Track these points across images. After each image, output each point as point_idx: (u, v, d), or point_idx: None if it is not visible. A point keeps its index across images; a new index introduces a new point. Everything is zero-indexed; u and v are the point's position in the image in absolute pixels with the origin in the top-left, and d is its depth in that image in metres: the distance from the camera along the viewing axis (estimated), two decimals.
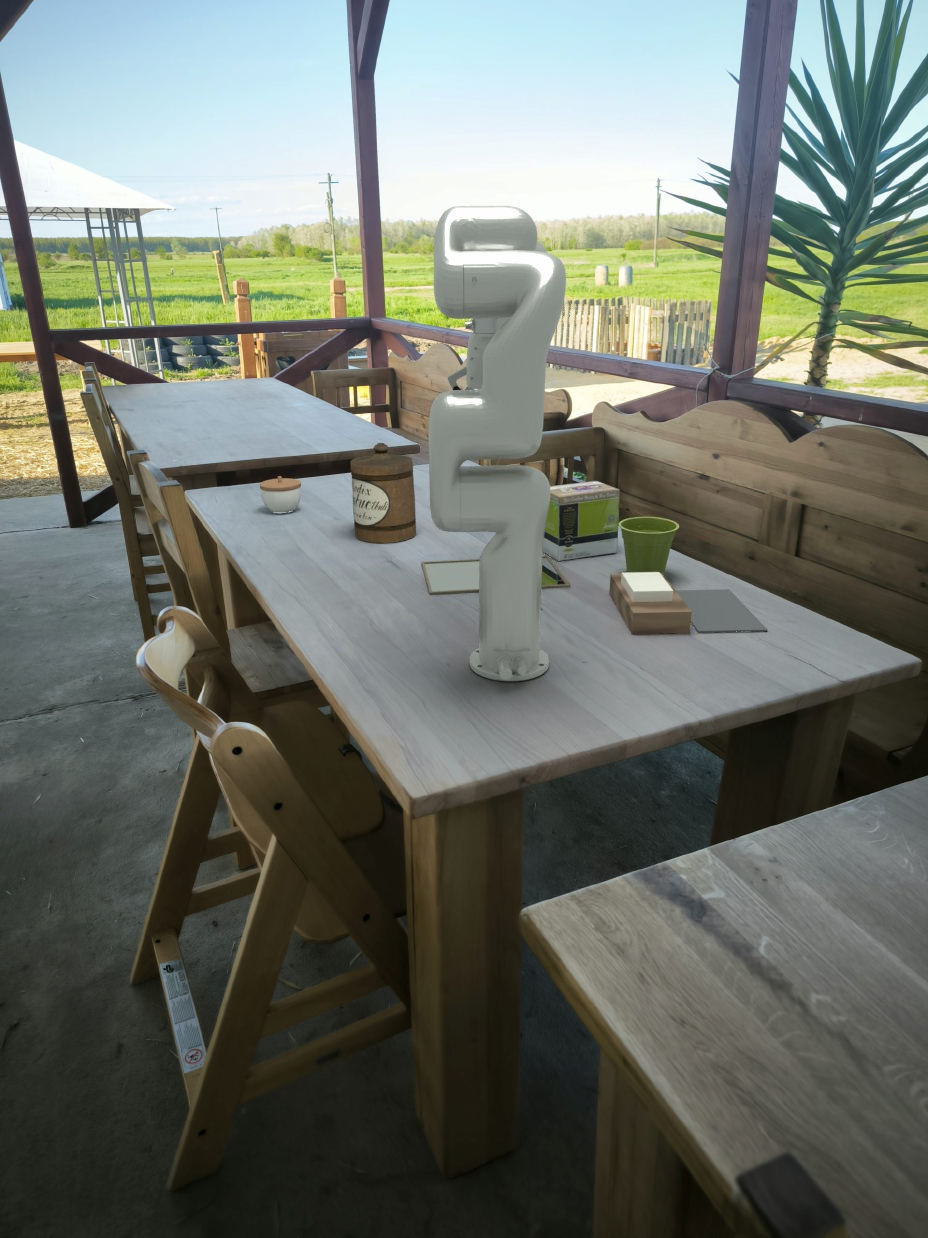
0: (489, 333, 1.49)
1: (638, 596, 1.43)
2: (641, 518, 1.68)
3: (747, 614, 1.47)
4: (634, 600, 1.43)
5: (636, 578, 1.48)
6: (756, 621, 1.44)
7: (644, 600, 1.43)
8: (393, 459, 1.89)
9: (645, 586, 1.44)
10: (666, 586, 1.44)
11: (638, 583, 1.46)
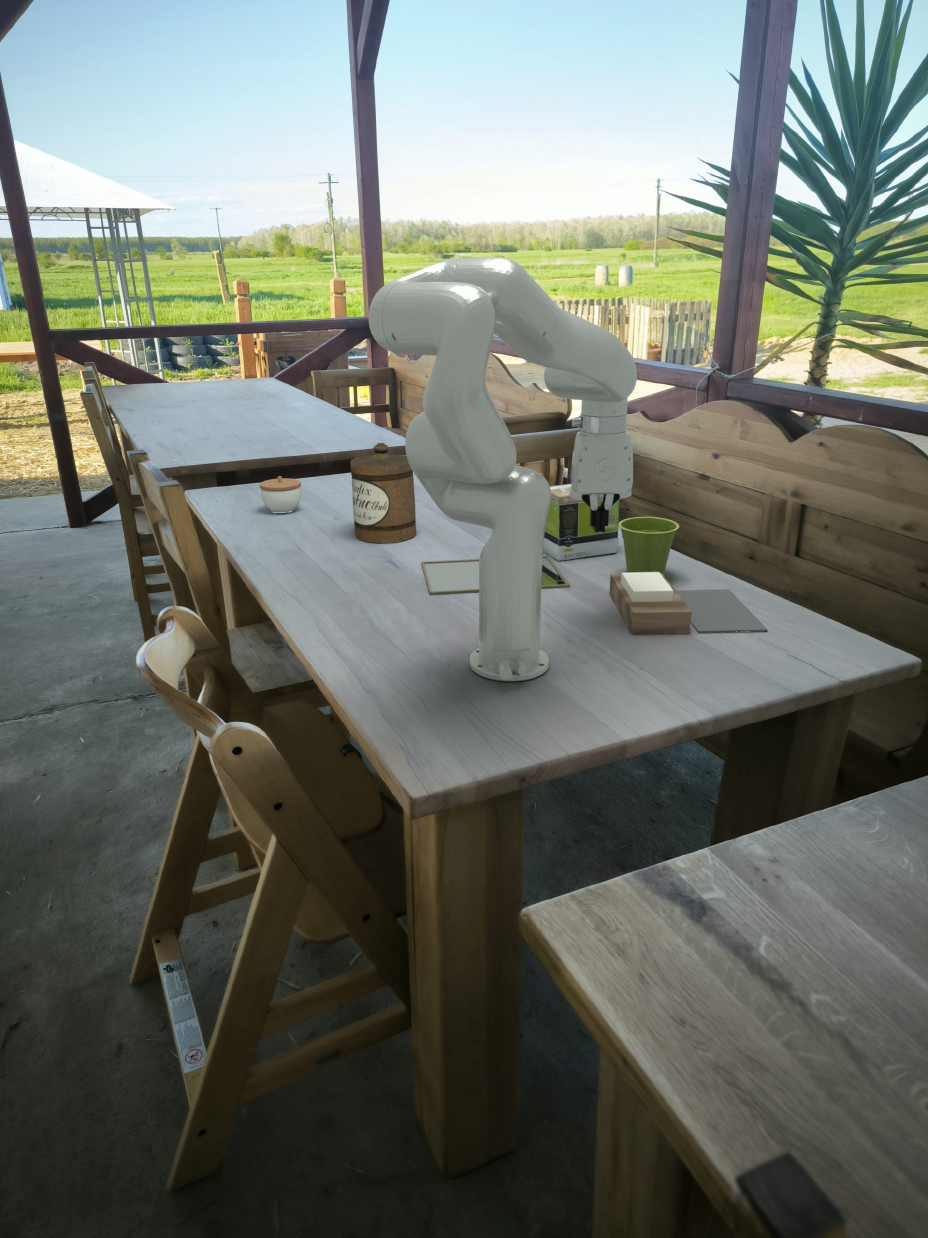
0: (602, 433, 1.33)
1: (638, 596, 1.43)
2: (641, 518, 1.68)
3: (747, 614, 1.47)
4: (634, 600, 1.43)
5: (636, 578, 1.48)
6: (756, 621, 1.44)
7: (644, 600, 1.43)
8: (393, 459, 1.89)
9: (645, 586, 1.44)
10: (666, 586, 1.44)
11: (638, 583, 1.46)
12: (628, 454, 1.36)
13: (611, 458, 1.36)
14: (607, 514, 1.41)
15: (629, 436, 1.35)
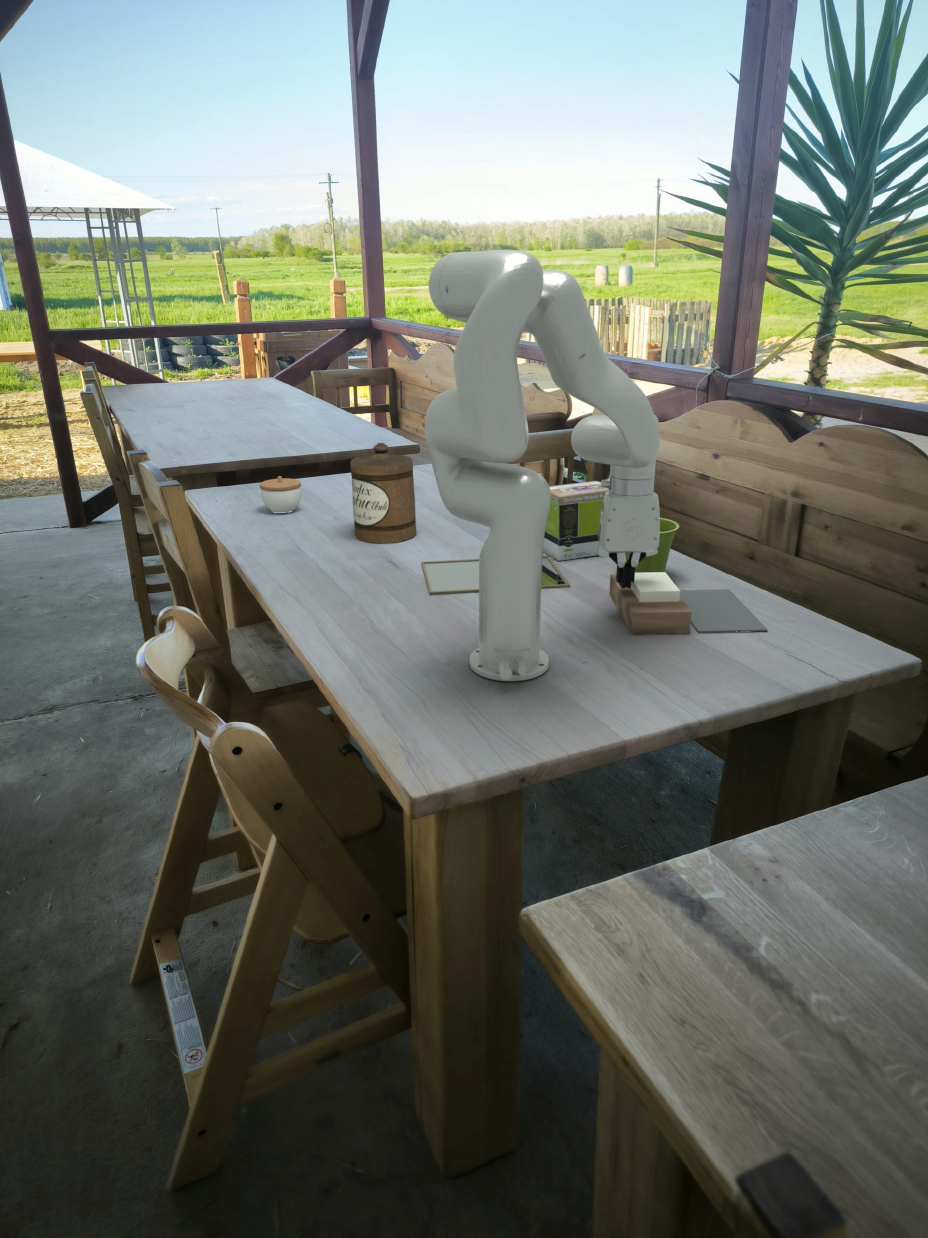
0: (630, 495, 1.37)
1: (645, 596, 1.42)
2: None
3: (747, 614, 1.47)
4: (641, 600, 1.43)
5: (642, 578, 1.48)
6: (756, 621, 1.44)
7: (651, 600, 1.43)
8: (393, 459, 1.89)
9: (651, 586, 1.44)
10: (673, 586, 1.44)
11: (644, 583, 1.46)
12: (656, 515, 1.40)
13: (639, 518, 1.40)
14: (633, 571, 1.45)
15: (656, 497, 1.39)
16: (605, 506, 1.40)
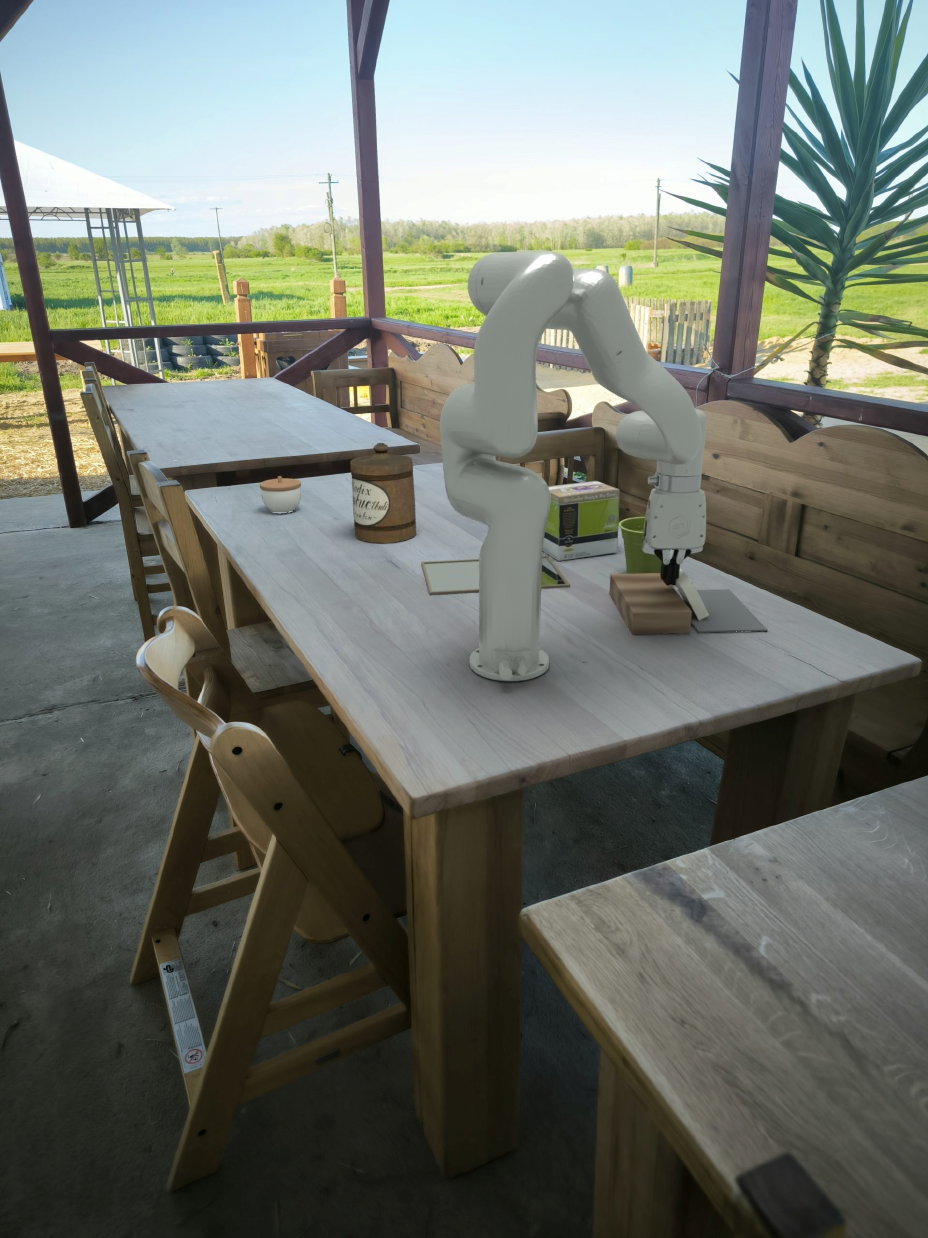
0: (678, 492, 1.37)
1: (690, 590, 1.42)
2: (641, 518, 1.68)
3: (747, 614, 1.47)
4: (684, 589, 1.42)
5: None
6: (756, 621, 1.44)
7: (688, 597, 1.43)
8: (393, 459, 1.89)
9: None
10: None
11: None
12: (702, 512, 1.40)
13: (686, 515, 1.40)
14: (678, 568, 1.45)
15: (703, 494, 1.39)
16: (652, 503, 1.40)
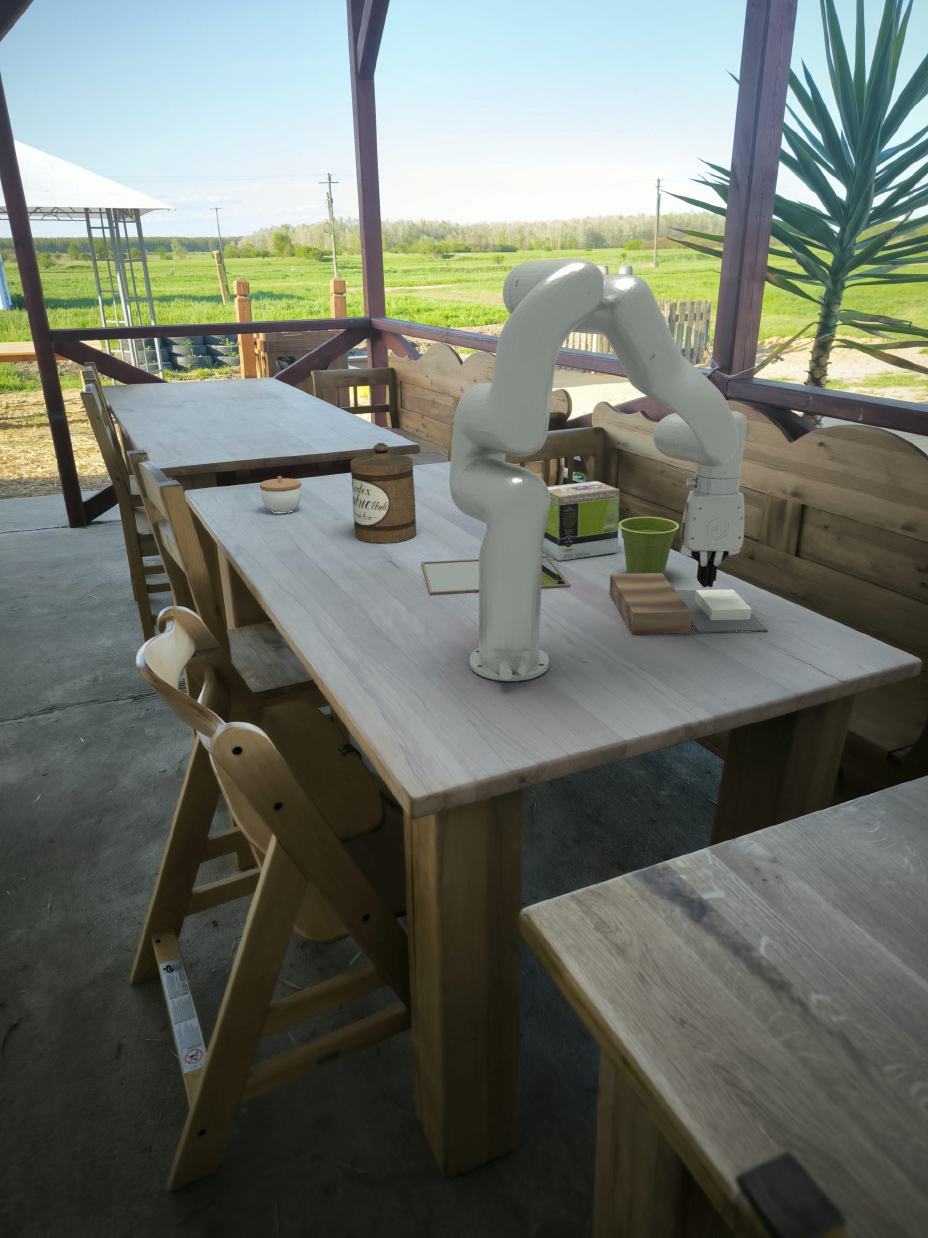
0: (717, 494, 1.37)
1: (745, 614, 1.44)
2: (641, 518, 1.68)
3: None
4: (749, 610, 1.44)
5: None
6: (756, 621, 1.44)
7: (739, 610, 1.44)
8: (393, 459, 1.89)
9: None
10: None
11: None
12: (741, 514, 1.40)
13: (724, 517, 1.40)
14: (715, 570, 1.46)
15: (742, 496, 1.39)
16: (690, 505, 1.40)
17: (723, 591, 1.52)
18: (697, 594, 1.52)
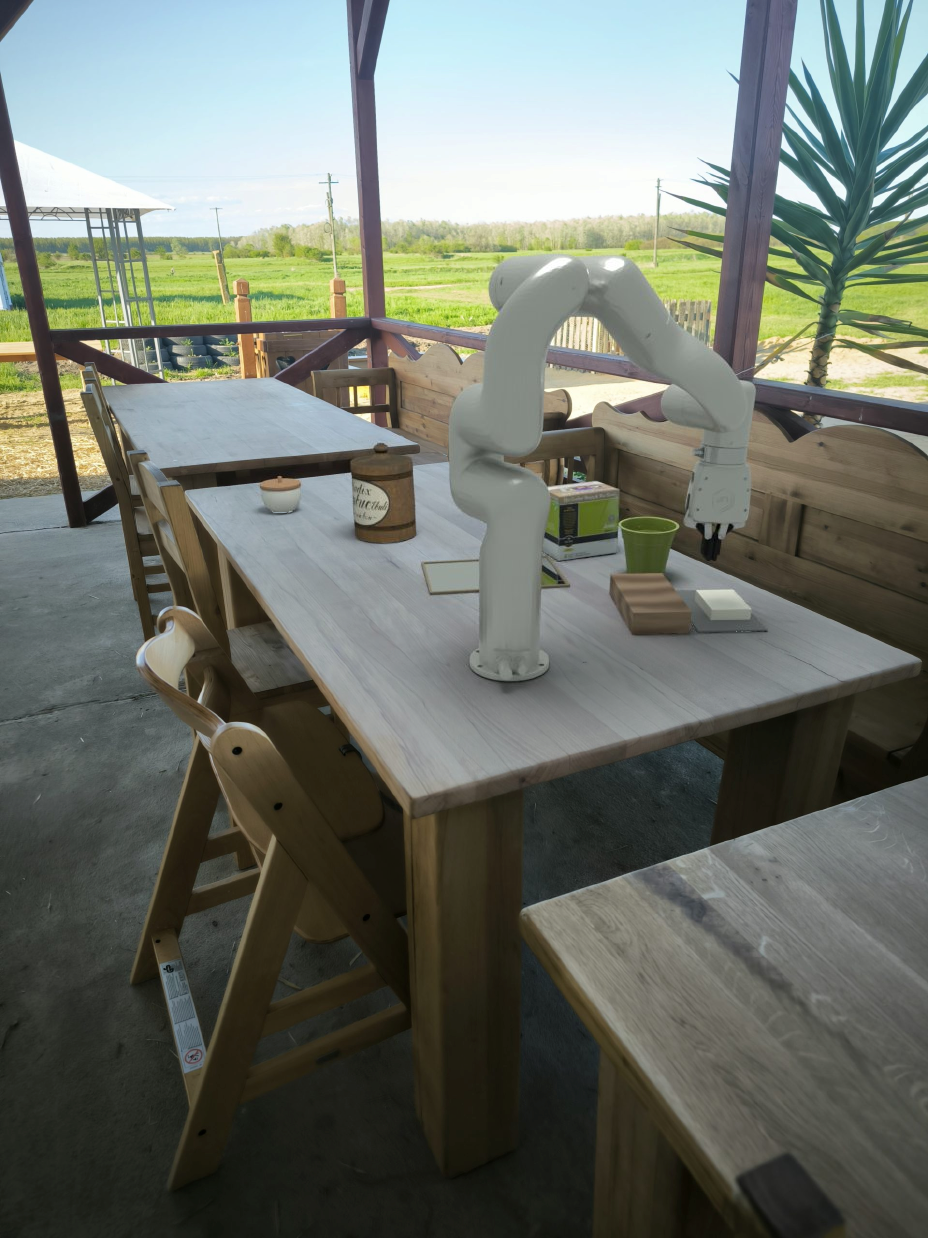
0: (724, 464, 1.35)
1: (745, 614, 1.44)
2: (641, 518, 1.68)
3: None
4: (749, 610, 1.44)
5: None
6: (756, 621, 1.44)
7: (739, 610, 1.44)
8: (393, 459, 1.89)
9: None
10: None
11: None
12: (747, 486, 1.38)
13: (730, 488, 1.38)
14: (719, 543, 1.43)
15: (749, 468, 1.37)
16: (696, 475, 1.38)
17: (723, 591, 1.52)
18: (697, 594, 1.52)
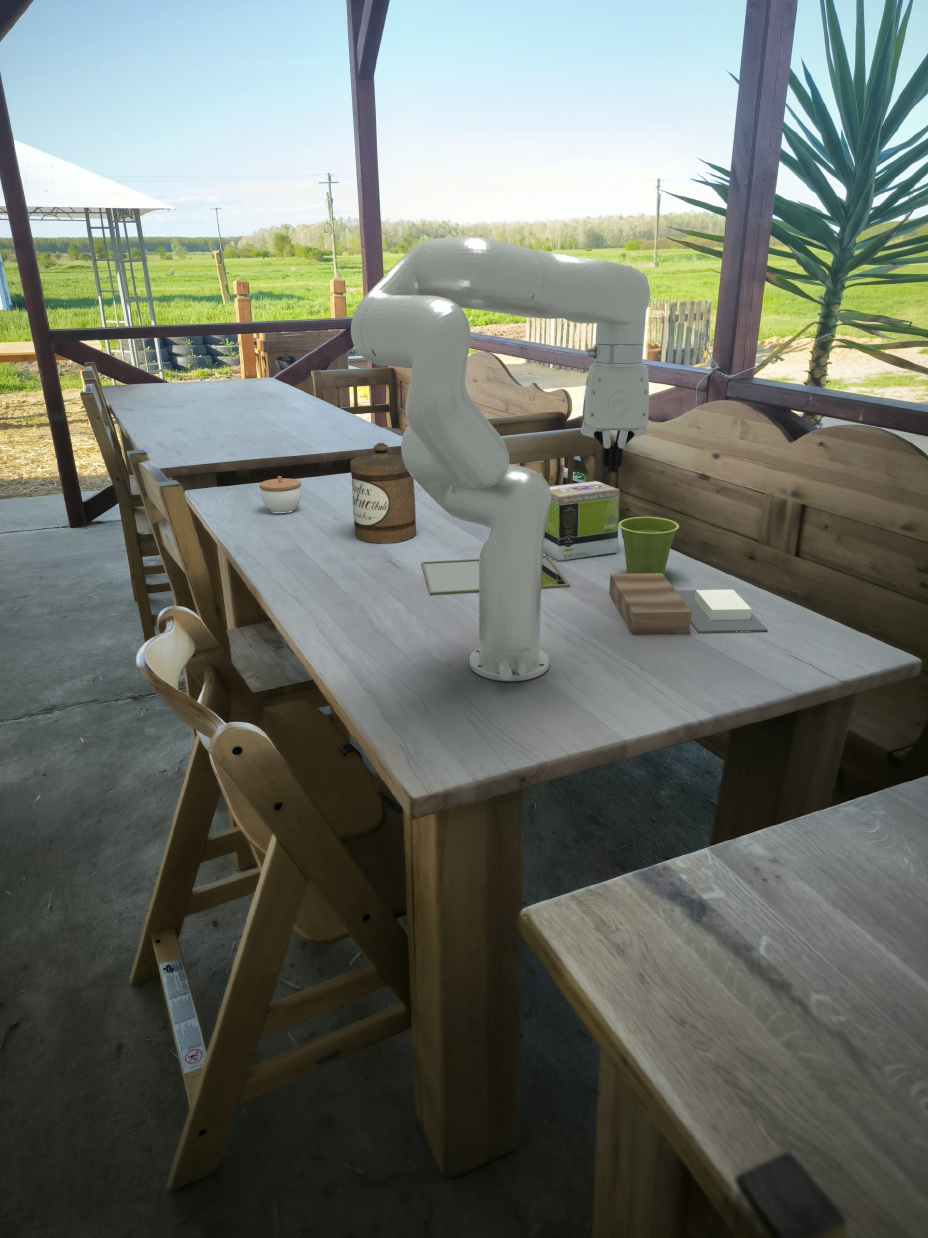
0: (617, 363, 1.26)
1: (745, 614, 1.44)
2: (641, 518, 1.68)
3: None
4: (749, 610, 1.44)
5: None
6: (756, 621, 1.44)
7: (739, 610, 1.44)
8: (393, 459, 1.89)
9: None
10: None
11: None
12: (644, 387, 1.28)
13: (626, 391, 1.28)
14: (620, 453, 1.34)
15: (645, 367, 1.28)
16: (589, 377, 1.29)
17: (723, 591, 1.52)
18: (697, 594, 1.52)
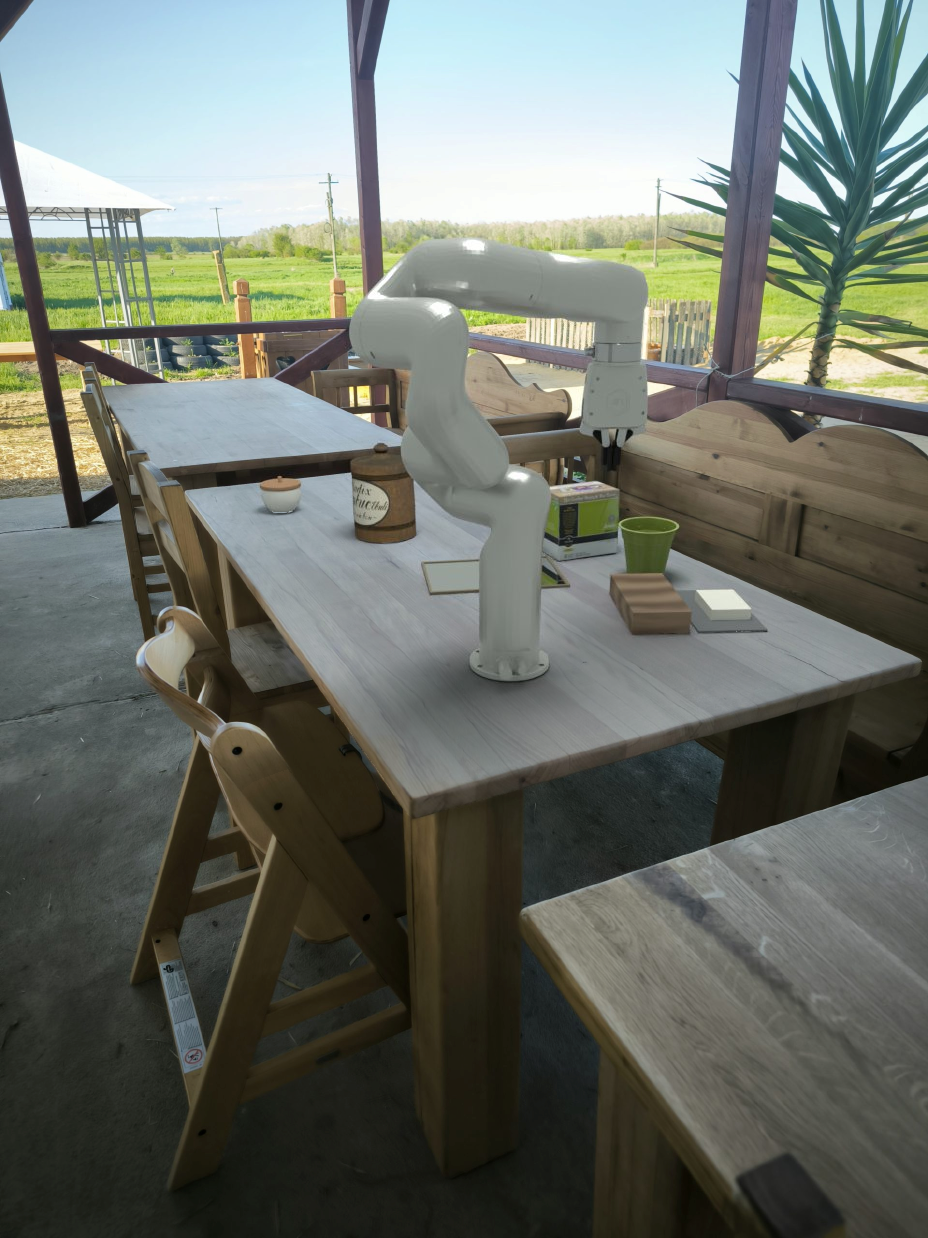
0: (615, 361, 1.26)
1: (745, 614, 1.44)
2: (641, 518, 1.68)
3: None
4: (749, 610, 1.44)
5: None
6: (756, 621, 1.44)
7: (739, 610, 1.44)
8: (393, 459, 1.89)
9: None
10: None
11: None
12: (643, 386, 1.28)
13: (625, 389, 1.28)
14: (619, 452, 1.34)
15: (644, 366, 1.28)
16: (588, 376, 1.28)
17: (723, 591, 1.52)
18: (697, 594, 1.52)
